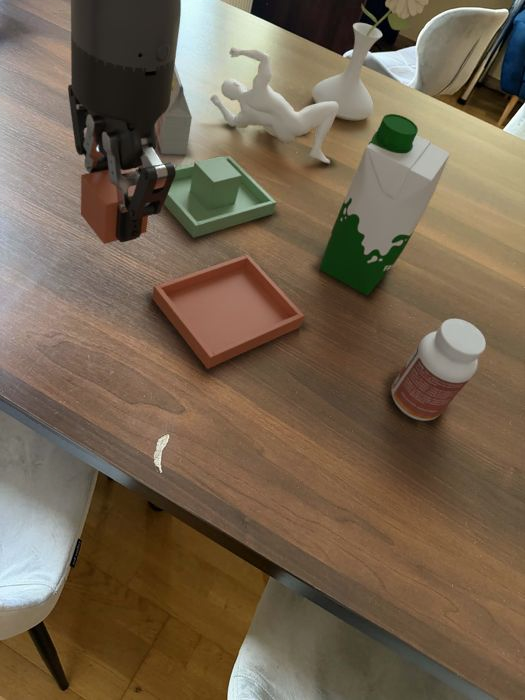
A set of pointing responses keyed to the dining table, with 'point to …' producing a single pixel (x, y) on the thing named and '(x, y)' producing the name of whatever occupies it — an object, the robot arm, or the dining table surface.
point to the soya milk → (383, 204)
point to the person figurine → (274, 108)
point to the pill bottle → (438, 369)
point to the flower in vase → (348, 83)
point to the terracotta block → (102, 204)
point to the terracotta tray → (227, 309)
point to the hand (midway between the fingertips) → (114, 220)
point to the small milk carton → (174, 122)
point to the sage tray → (201, 221)
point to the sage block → (215, 182)
